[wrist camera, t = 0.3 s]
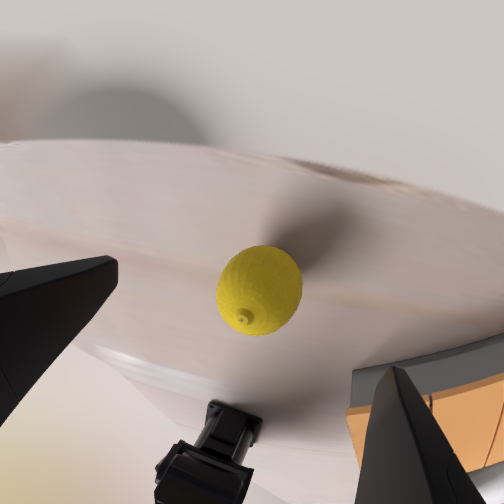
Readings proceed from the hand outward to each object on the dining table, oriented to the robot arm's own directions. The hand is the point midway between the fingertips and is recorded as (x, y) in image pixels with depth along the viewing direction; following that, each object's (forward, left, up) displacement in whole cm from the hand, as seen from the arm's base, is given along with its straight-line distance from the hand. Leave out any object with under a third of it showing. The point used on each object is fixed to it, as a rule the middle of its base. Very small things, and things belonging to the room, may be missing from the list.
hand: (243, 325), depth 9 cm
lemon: (-5, +2, -15) cm, 16 cm away
